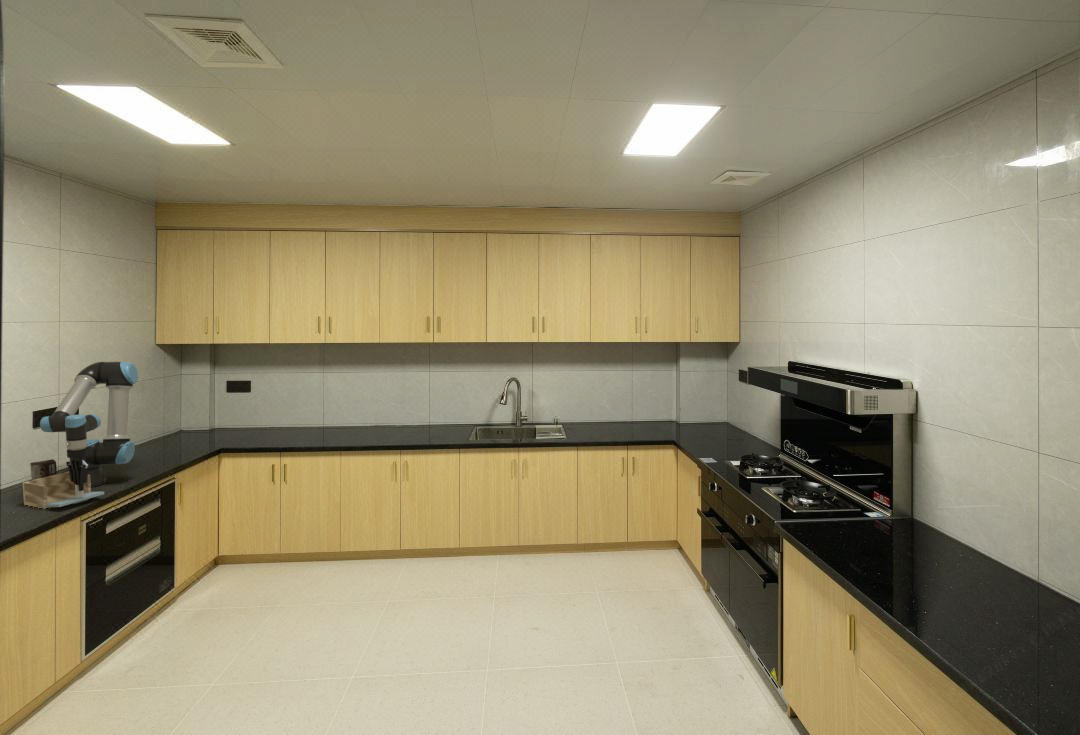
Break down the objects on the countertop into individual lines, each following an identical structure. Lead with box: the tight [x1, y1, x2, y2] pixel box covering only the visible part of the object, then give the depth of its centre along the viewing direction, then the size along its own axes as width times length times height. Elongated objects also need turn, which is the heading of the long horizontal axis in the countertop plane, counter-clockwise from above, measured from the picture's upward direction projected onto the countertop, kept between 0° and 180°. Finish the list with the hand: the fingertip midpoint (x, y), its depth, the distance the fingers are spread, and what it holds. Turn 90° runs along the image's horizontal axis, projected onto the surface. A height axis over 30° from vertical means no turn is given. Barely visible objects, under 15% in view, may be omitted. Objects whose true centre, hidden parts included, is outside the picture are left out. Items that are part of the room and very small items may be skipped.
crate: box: [22, 471, 92, 510], centre depth 275 cm, size 20×15×11 cm
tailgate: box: [46, 491, 105, 508], centre depth 271 cm, size 20×2×9 cm
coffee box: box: [29, 459, 58, 480], centre depth 284 cm, size 9×6×16 cm
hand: (79, 497), depth 269 cm, fingers closed
